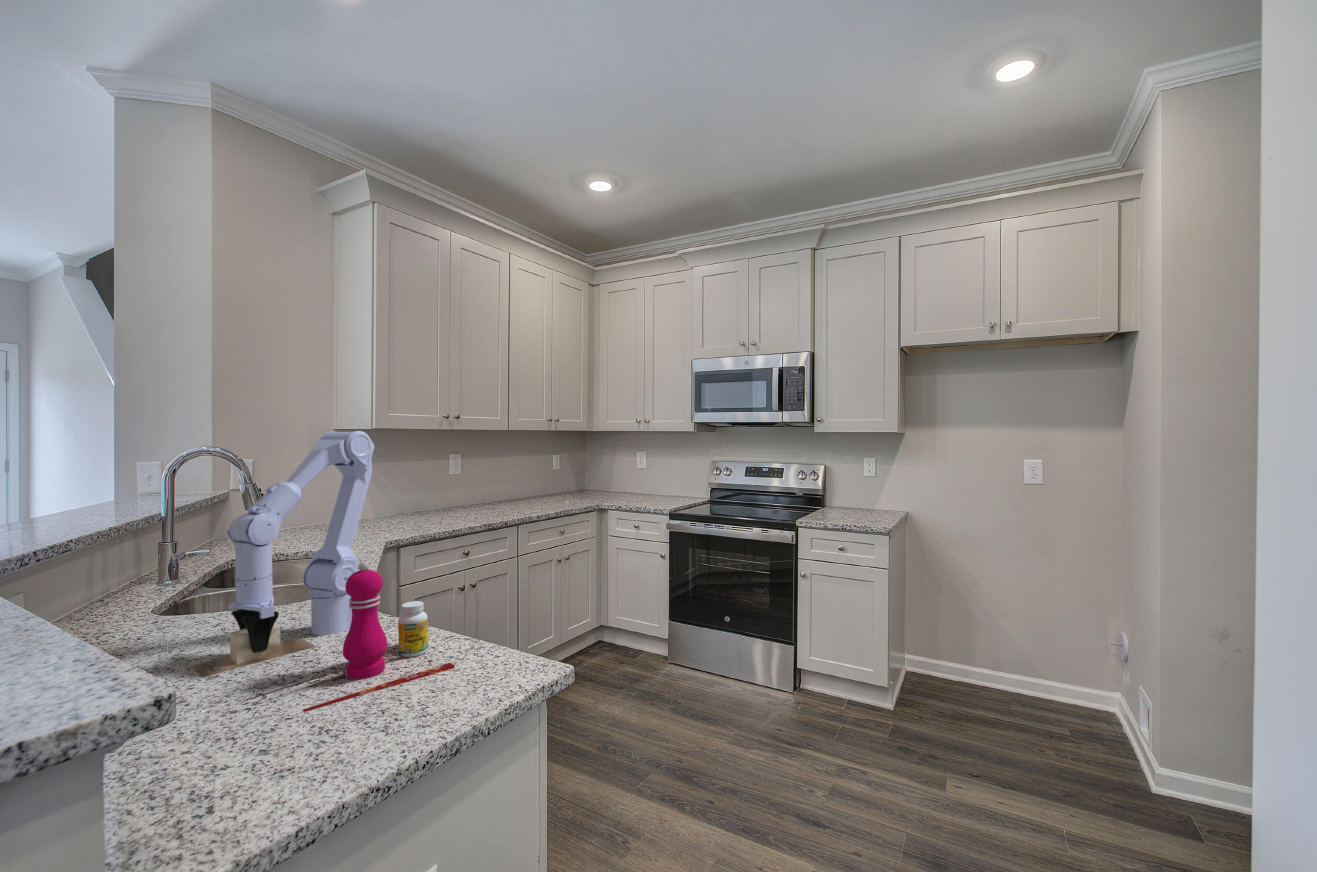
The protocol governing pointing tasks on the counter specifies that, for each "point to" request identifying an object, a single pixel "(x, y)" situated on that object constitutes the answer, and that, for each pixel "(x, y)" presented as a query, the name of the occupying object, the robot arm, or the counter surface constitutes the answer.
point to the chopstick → (388, 684)
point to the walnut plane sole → (228, 664)
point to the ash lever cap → (242, 647)
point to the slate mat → (286, 687)
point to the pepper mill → (364, 625)
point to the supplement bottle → (413, 629)
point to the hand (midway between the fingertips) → (255, 648)
